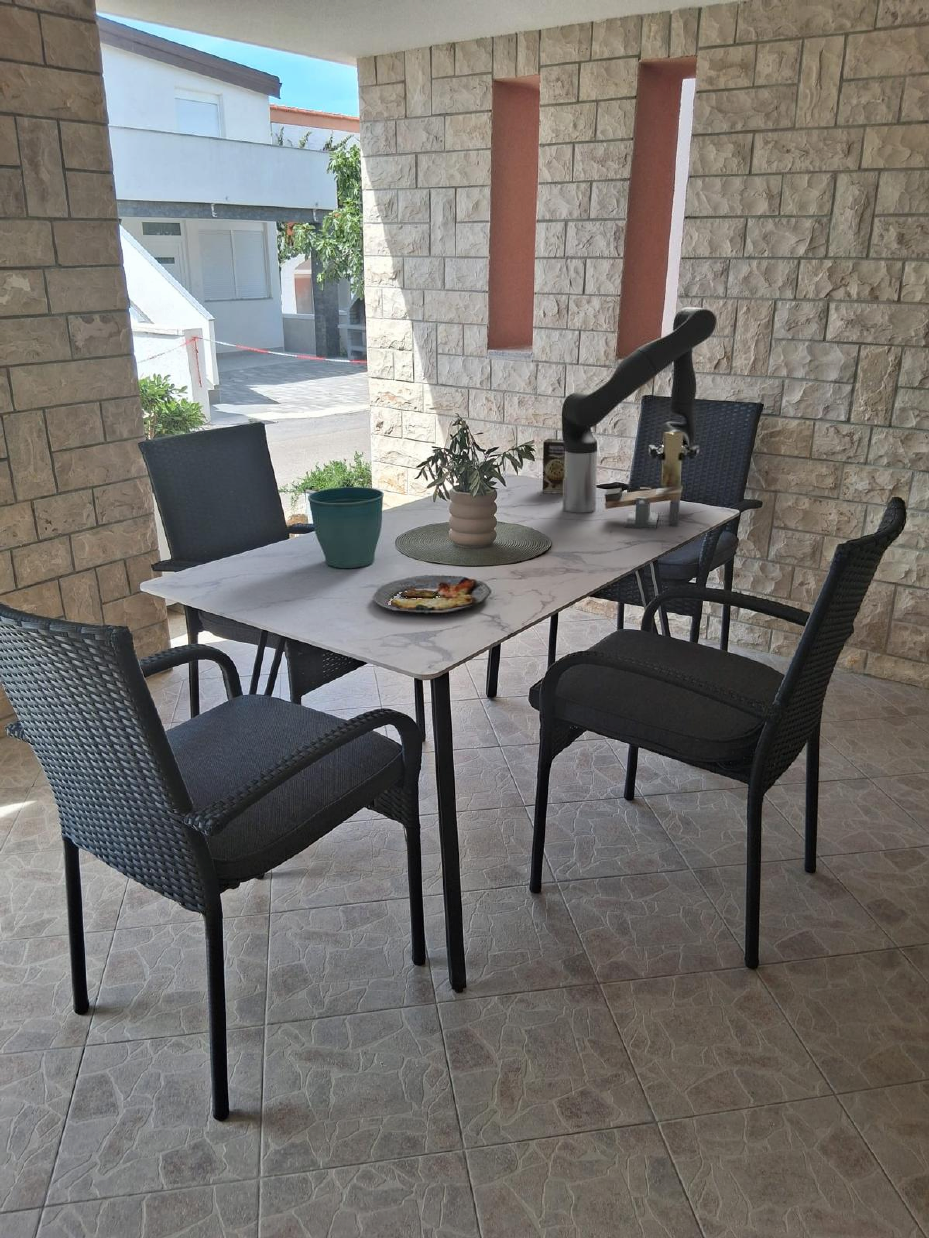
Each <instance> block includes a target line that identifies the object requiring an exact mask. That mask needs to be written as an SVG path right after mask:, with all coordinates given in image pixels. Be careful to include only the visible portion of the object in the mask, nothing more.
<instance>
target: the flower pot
mask: <svg viewBox="0 0 929 1238" xmlns="http://www.w3.org/2000/svg"><path fill="white" fill-rule="evenodd" d="M383 499H384V492H383V491H381V490H380V489H377V488H372V487H366V486H344V487H343V486H341V487H332V488H324V489H320V490H317V491H313V492H311V493H310V494H309V495H308V496H307V500H308V501H309V508H310V512H311V518H312V523H313V524H312V525H313V530H314V532H315V535H316V539H317V541H318V543H319V545H320V548H321V550H322V553H323V555H324V557H325V560H324V561H326V562H325V564H326V563H327V564H326V565H328V566H329V565H331V566H330V567H332V566H333V567H332V568H337V567H338V569H354V568H356V569H357V568H362V567H365V566H369V565H370V564H372V563H373V562H375V553H376V550H377V549H376V548H377V546H378V542H379V539H380V535H381V531H382V523H383V505H384V504H383V502H384V501H383Z"/></svg>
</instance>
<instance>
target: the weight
mask: <svg viewBox="0 0 929 1238" xmlns="http://www.w3.org/2000/svg"><path fill="white" fill-rule="evenodd" d="M682 441H683V433H682V432H665V433H664V437H663V460H662V461H661V462H662V463H661V465H662V466H661V486H662V487H664V488H665V487H678V486H680V485H681V482H682V481H681V478H682V477H681V475H682V461H681V453H682Z"/></svg>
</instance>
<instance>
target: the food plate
mask: <svg viewBox="0 0 929 1238" xmlns="http://www.w3.org/2000/svg"><path fill="white" fill-rule="evenodd" d="M415 589H417V590H415ZM418 589H422V590H418ZM433 589H438V590H436V591H432V590H433ZM405 591H407V592H405ZM399 592H402V593H401V594H399ZM397 594H399V596H400V597H399V598H398V597H397V598H394V596H397ZM491 594H492V590H491V588H490V587H489V586H488V584H486V583H485V582H484V581H480V580H477V579H476V578H469V577H465V576H461V575H460V576H459V575H445V574H444V575H440V574H439V575H438V574H435V575H434V574H432V575H431V574H430V575H429V574H424V575H416V576H411V577H406V578H403V579H399V580H397V579H396V580H393V581H391V582H387V583H386V584H384V585H381V586H380V587H379V588H378V589H377V591H376V592H374V594H373V595H372V598H373V600H374V602H375V603H376V604H378V605H379V606H381V607H383V608H386V609H388V610H392V611H399V612H407V613H425V614H427V615H428V613H435V614H436V613H437V614H438V613H442V614H443V613H454V612H458V611H461V610H467V609H470V608H473V607H476V606H477V605H478V606H479V605H481V604H482V603H483V602H484V601H485V600H486V599H487V598H489V596H490V595H491ZM436 596H438V598H440V599H438V598H436ZM439 596H440V597H439ZM401 597H407V598H416V599H406V598H401ZM391 598H392V599H393V600H392V601H391V605H388V602H389V601H390V599H391ZM417 598H422V599H417ZM433 598H434V599H433Z"/></svg>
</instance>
